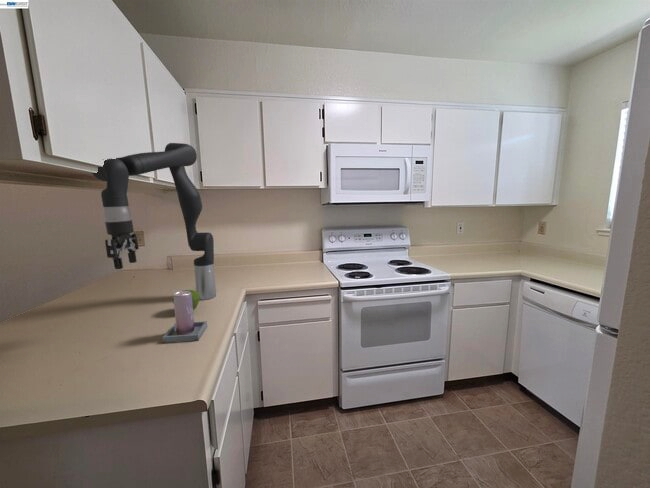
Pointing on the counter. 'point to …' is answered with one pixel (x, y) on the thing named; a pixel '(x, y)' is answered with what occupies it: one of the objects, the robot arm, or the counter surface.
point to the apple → (194, 298)
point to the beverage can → (184, 312)
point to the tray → (195, 336)
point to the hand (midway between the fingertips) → (126, 265)
